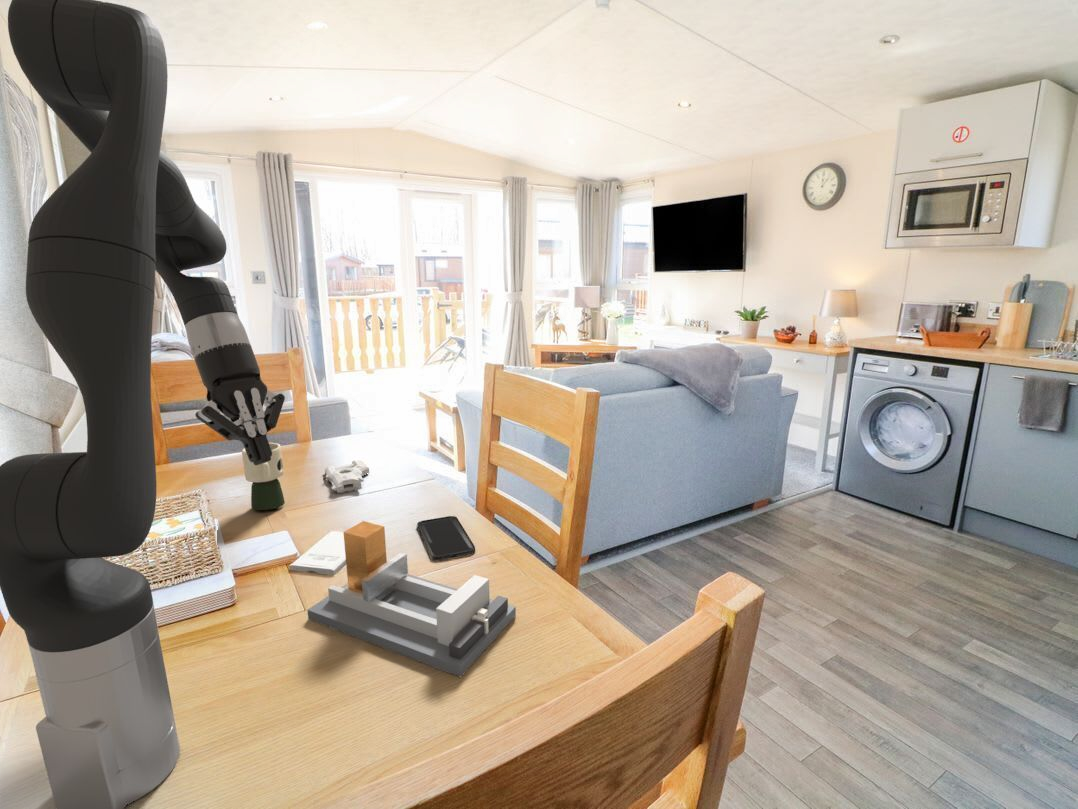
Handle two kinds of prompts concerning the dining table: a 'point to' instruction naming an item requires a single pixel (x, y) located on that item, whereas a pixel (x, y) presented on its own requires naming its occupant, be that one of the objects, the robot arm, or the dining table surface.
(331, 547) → the external hard drive
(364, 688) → the dining table surface
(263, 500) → the character mug
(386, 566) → the block
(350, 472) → the white mechanical part
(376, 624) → the bench vise
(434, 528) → the phone
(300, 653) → the dining table surface
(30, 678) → the dining table surface
